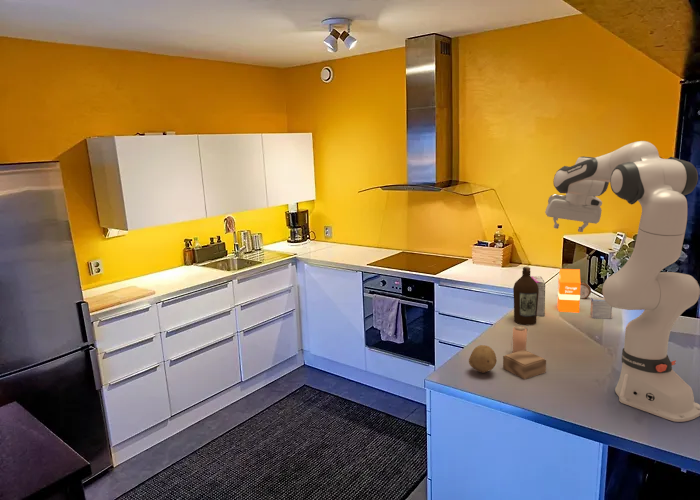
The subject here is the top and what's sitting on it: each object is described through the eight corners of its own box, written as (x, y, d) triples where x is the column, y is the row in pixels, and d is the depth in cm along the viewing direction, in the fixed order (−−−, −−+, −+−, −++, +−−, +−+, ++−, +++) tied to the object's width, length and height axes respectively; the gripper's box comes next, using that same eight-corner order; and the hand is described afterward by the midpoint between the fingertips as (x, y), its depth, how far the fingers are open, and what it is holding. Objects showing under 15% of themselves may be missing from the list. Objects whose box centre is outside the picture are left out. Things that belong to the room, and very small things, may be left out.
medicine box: (609, 316, 215) (610, 297, 213) (611, 319, 211) (612, 300, 209) (590, 315, 217) (591, 297, 216) (592, 318, 213) (593, 300, 211)
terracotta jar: (529, 354, 179) (530, 327, 176) (519, 357, 176) (520, 330, 174) (519, 350, 183) (519, 323, 181) (509, 353, 181) (510, 326, 179)
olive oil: (510, 317, 219) (511, 265, 214) (533, 317, 218) (535, 264, 213) (515, 325, 208) (517, 270, 203) (540, 325, 207) (542, 270, 202)
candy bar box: (529, 308, 230) (530, 276, 227) (540, 308, 229) (541, 276, 226) (533, 316, 219) (534, 282, 216) (544, 316, 218) (546, 282, 215)
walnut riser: (545, 372, 164) (546, 358, 163) (524, 379, 160) (524, 365, 159) (523, 361, 173) (524, 349, 172) (503, 368, 168) (503, 355, 167)
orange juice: (579, 312, 221) (581, 271, 217) (558, 311, 224) (560, 270, 220) (576, 307, 228) (578, 267, 225) (557, 306, 231) (558, 266, 227)
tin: (590, 298, 241) (591, 282, 239) (590, 300, 238) (590, 284, 237) (558, 295, 249) (559, 279, 247) (557, 296, 246) (558, 281, 245)
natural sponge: (501, 376, 162) (502, 349, 160) (477, 380, 160) (477, 352, 158) (488, 365, 171) (489, 339, 169) (466, 369, 169) (466, 342, 167)
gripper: (551, 195, 185) (542, 228, 190) (606, 203, 182) (596, 236, 187) (548, 191, 190) (540, 223, 196) (602, 198, 187) (591, 231, 193)
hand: (567, 229), depth 191 cm, fingers open, 8 cm apart
